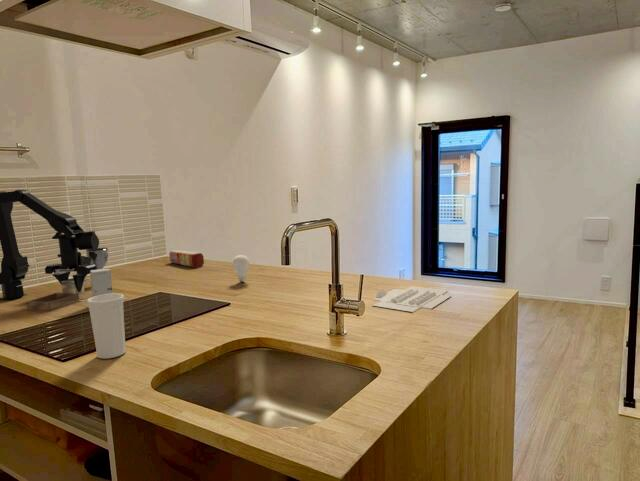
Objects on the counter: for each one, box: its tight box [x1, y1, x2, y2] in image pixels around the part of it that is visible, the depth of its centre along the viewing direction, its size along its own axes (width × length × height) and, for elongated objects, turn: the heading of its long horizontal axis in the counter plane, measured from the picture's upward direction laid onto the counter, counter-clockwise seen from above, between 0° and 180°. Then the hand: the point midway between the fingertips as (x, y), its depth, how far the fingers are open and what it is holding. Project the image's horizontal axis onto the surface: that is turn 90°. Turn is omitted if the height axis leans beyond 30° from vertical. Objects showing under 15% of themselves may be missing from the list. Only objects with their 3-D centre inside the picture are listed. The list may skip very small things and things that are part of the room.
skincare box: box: [89, 268, 114, 297], centre depth 153 cm, size 6×4×12 cm
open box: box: [26, 292, 80, 312], centre depth 156 cm, size 10×12×3 cm
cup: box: [86, 292, 126, 359], centre depth 108 cm, size 8×8×14 cm
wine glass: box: [85, 247, 109, 270], centre depth 182 cm, size 8×8×15 cm
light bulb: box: [232, 254, 250, 283], centre depth 179 cm, size 7×7×11 cm
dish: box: [83, 278, 91, 287], centre depth 184 cm, size 7×7×2 cm
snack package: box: [168, 249, 205, 269], centre depth 221 cm, size 22×7×7 cm, turn 46°
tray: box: [372, 285, 452, 314], centre depth 147 cm, size 20×28×4 cm
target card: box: [77, 296, 92, 302], centre depth 165 cm, size 6×9×1 cm, turn 165°
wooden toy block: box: [60, 277, 86, 295], centre depth 168 cm, size 5×5×6 cm
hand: (73, 291), depth 168 cm, fingers closed on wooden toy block, 5 cm apart
